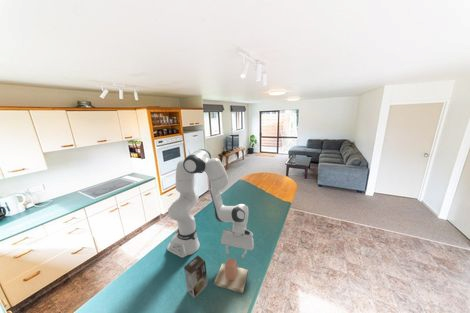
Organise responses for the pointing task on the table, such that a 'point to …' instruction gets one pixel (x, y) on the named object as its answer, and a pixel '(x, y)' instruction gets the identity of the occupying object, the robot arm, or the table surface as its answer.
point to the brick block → (231, 269)
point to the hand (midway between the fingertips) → (234, 256)
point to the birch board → (230, 284)
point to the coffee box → (196, 276)
